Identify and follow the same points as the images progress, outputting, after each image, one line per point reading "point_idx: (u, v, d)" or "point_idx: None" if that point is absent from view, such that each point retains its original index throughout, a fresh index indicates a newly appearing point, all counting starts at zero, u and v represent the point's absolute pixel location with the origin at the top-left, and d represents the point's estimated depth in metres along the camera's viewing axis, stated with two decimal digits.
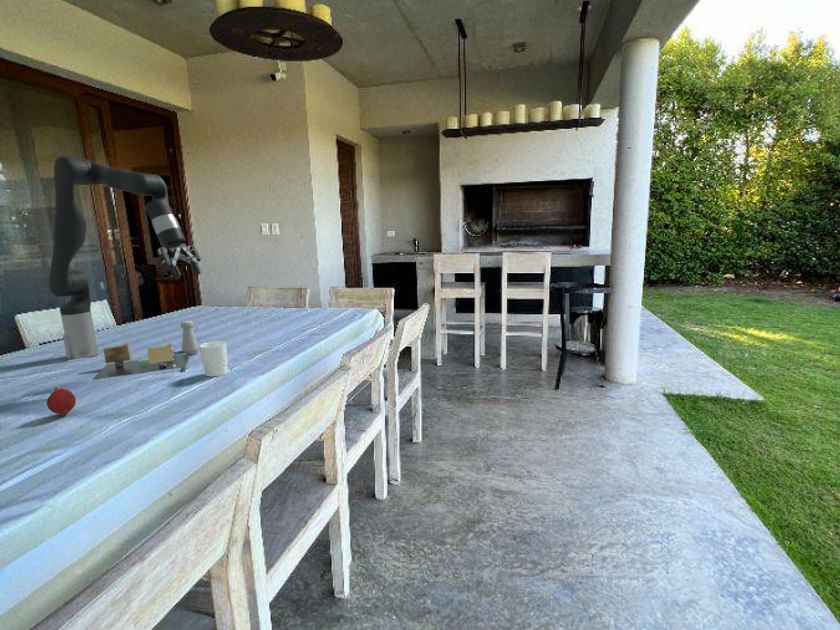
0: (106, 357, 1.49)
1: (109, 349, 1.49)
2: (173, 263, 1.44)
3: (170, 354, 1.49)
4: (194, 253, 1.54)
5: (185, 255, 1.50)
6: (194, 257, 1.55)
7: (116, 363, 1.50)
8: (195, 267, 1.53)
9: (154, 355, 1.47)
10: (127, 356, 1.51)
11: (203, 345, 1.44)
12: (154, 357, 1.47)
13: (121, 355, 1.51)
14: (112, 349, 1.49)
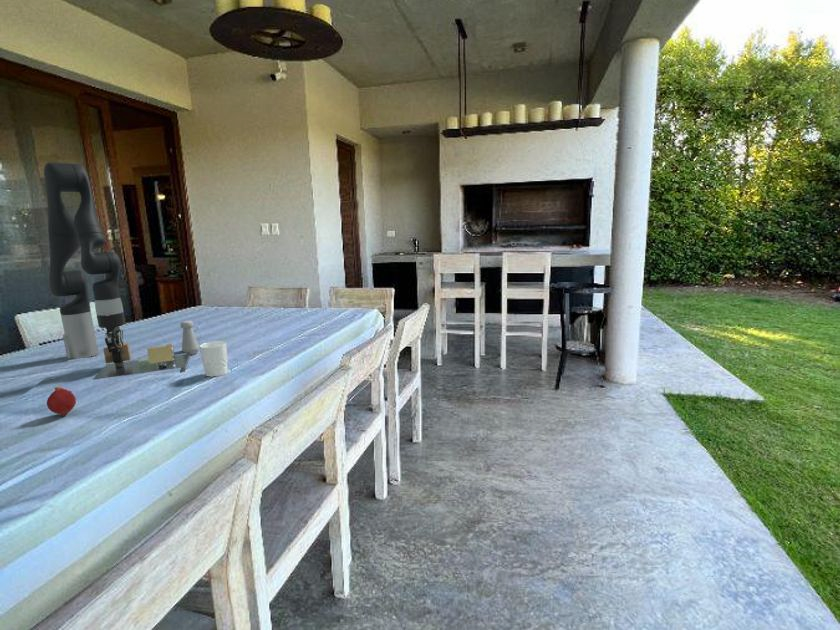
0: (106, 357, 1.49)
1: None
2: (119, 349, 1.49)
3: (170, 354, 1.49)
4: None
5: None
6: None
7: (116, 363, 1.50)
8: None
9: (154, 355, 1.47)
10: (127, 356, 1.51)
11: (203, 345, 1.44)
12: (154, 357, 1.47)
13: (121, 355, 1.51)
14: None
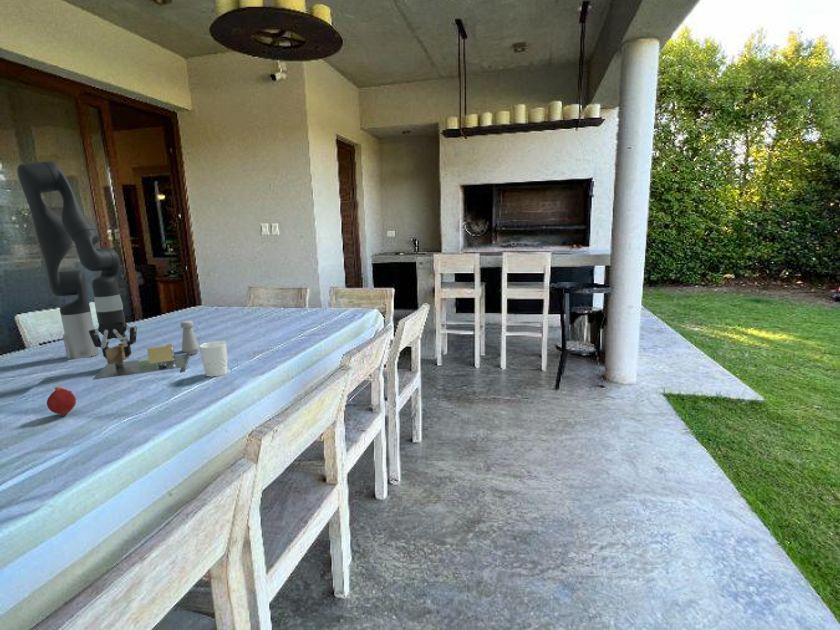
0: (113, 358, 1.48)
1: (114, 349, 1.49)
2: None
3: (170, 354, 1.49)
4: (98, 336, 1.49)
5: None
6: None
7: (120, 362, 1.51)
8: None
9: (154, 355, 1.47)
10: None
11: (203, 345, 1.44)
12: (154, 357, 1.47)
13: (123, 354, 1.52)
14: (117, 349, 1.50)
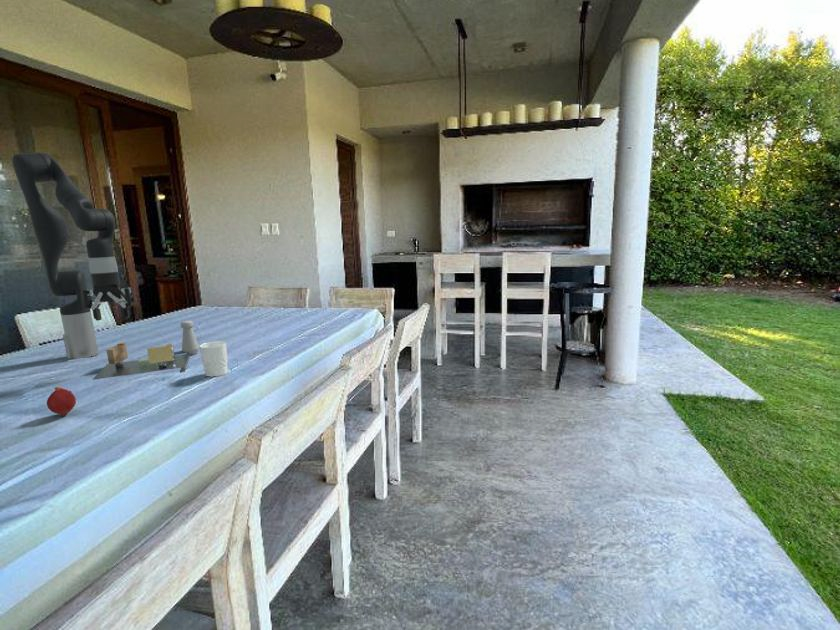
0: (114, 357, 1.48)
1: (115, 349, 1.49)
2: None
3: (170, 354, 1.49)
4: (91, 298, 1.47)
5: None
6: None
7: (121, 362, 1.51)
8: (99, 312, 1.48)
9: (154, 355, 1.47)
10: (126, 354, 1.54)
11: (203, 345, 1.44)
12: (154, 357, 1.47)
13: (123, 354, 1.52)
14: (117, 349, 1.50)
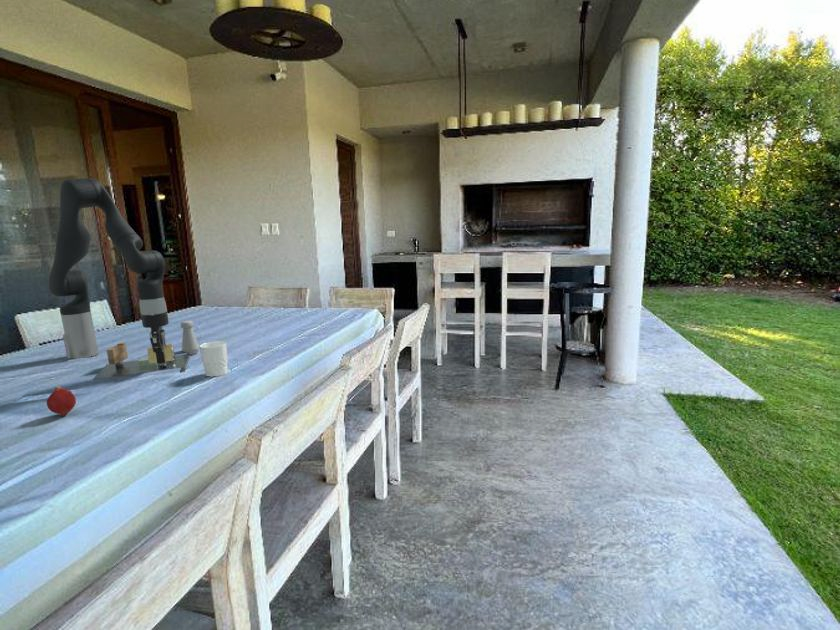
0: (115, 357, 1.48)
1: (116, 349, 1.49)
2: (162, 350, 1.47)
3: (170, 354, 1.49)
4: None
5: None
6: None
7: (121, 362, 1.51)
8: None
9: (154, 355, 1.47)
10: (126, 354, 1.54)
11: (203, 345, 1.44)
12: (154, 357, 1.47)
13: (123, 354, 1.52)
14: (117, 349, 1.50)
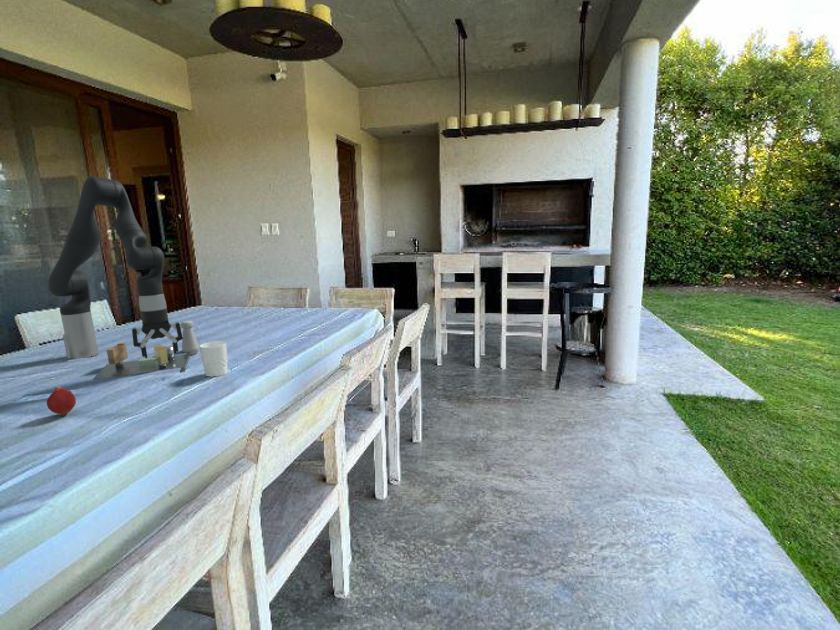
0: (115, 357, 1.48)
1: (116, 349, 1.49)
2: (141, 345, 1.45)
3: (160, 357, 1.46)
4: (177, 331, 1.50)
5: (162, 335, 1.47)
6: None
7: (121, 362, 1.51)
8: (173, 346, 1.50)
9: (155, 353, 1.49)
10: (126, 354, 1.54)
11: (203, 345, 1.44)
12: (156, 355, 1.50)
13: (123, 354, 1.52)
14: (117, 349, 1.50)
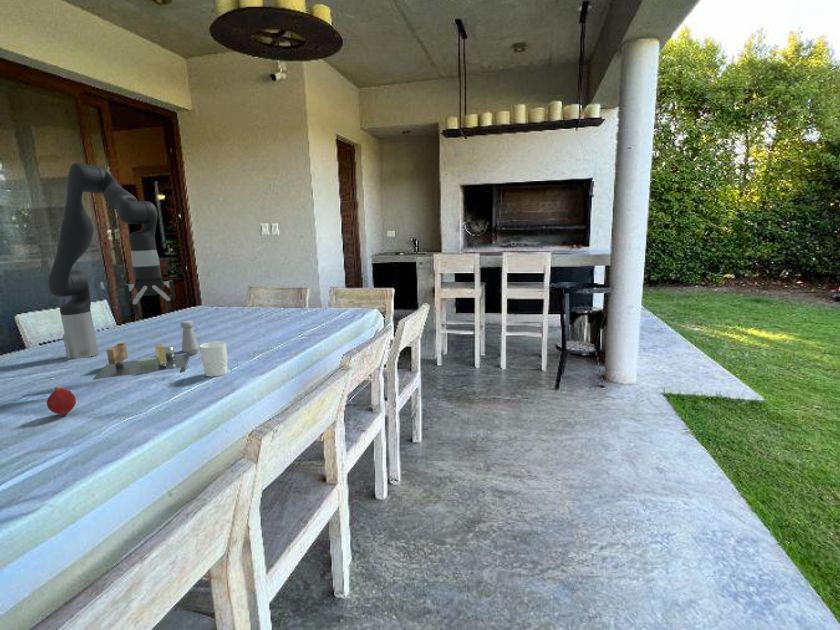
0: (115, 357, 1.48)
1: (116, 349, 1.49)
2: (134, 302, 1.42)
3: (158, 357, 1.46)
4: (170, 289, 1.47)
5: (155, 292, 1.45)
6: None
7: (121, 362, 1.51)
8: (166, 304, 1.48)
9: (156, 353, 1.50)
10: (126, 354, 1.54)
11: (203, 345, 1.44)
12: (156, 355, 1.50)
13: (123, 354, 1.52)
14: (117, 349, 1.50)
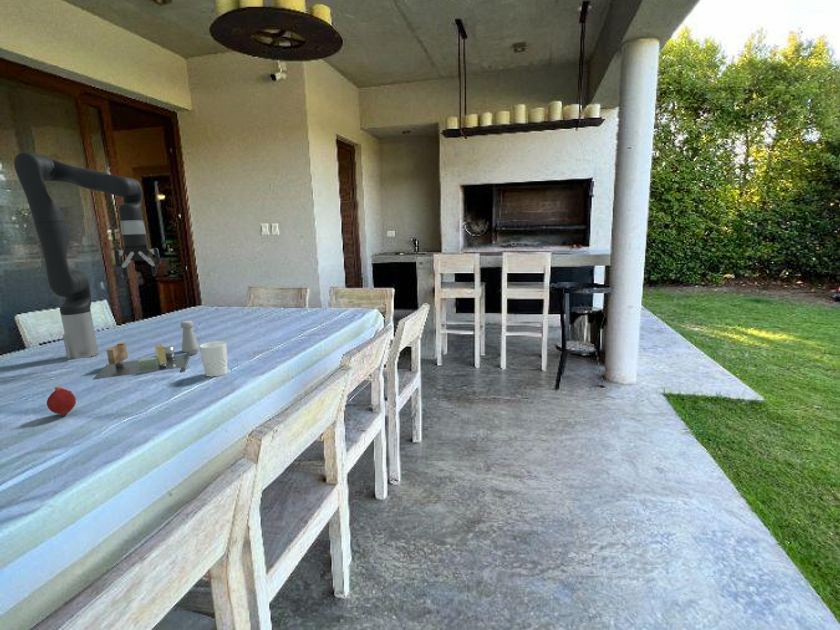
0: (115, 357, 1.48)
1: (116, 349, 1.49)
2: (123, 265, 1.63)
3: (158, 357, 1.46)
4: (155, 256, 1.67)
5: (141, 258, 1.65)
6: None
7: (121, 362, 1.51)
8: (151, 269, 1.68)
9: (156, 353, 1.50)
10: (126, 354, 1.54)
11: (203, 345, 1.44)
12: (156, 355, 1.50)
13: (123, 354, 1.52)
14: (117, 349, 1.50)
